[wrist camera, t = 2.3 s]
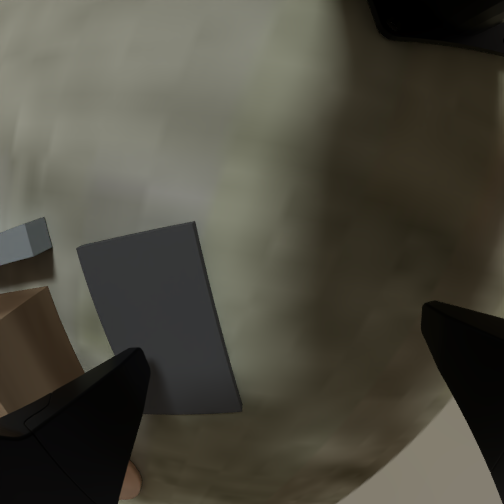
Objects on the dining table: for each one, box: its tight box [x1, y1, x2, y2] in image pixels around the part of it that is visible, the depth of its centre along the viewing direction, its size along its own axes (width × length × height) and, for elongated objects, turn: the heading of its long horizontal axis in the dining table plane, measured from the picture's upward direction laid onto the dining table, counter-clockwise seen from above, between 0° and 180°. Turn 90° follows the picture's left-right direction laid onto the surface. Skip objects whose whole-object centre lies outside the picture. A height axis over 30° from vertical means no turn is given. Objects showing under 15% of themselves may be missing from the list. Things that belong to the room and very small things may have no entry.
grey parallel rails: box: [0, 217, 52, 265], centre depth 11 cm, size 10×10×1 cm
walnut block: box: [0, 286, 85, 417], centre depth 9 cm, size 5×5×5 cm
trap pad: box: [76, 221, 242, 415], centre depth 11 cm, size 4×8×1 cm, turn 10°
